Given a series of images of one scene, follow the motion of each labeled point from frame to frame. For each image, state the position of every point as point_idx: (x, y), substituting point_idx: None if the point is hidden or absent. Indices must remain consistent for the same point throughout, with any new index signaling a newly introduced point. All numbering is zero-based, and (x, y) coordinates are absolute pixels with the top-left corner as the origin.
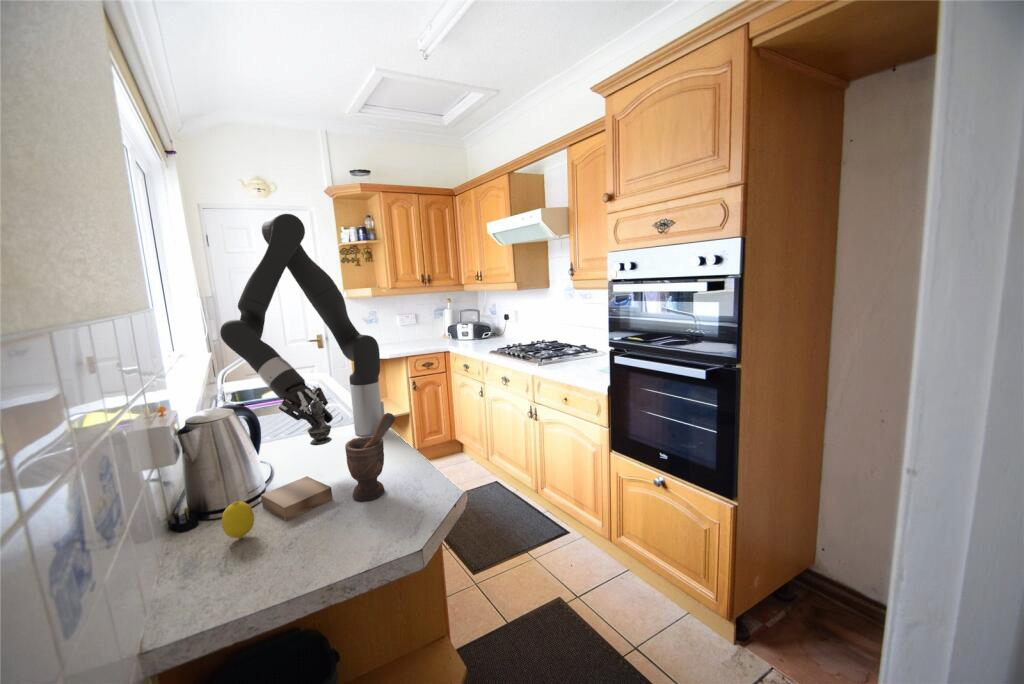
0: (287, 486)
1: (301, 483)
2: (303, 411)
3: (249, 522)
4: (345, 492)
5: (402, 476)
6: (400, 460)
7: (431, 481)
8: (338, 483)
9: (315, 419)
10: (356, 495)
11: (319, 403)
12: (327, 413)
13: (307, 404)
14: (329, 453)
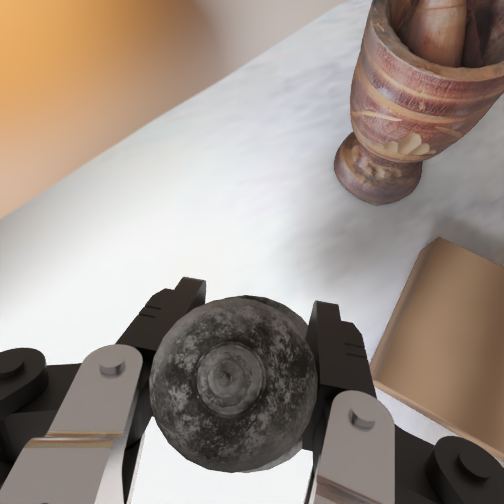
0: (472, 410)
1: (437, 363)
2: (443, 468)
3: None
4: (376, 234)
5: (266, 125)
6: (157, 165)
7: (291, 57)
8: (322, 285)
9: (341, 341)
10: (420, 174)
11: (254, 305)
12: (181, 307)
13: (327, 495)
14: None
